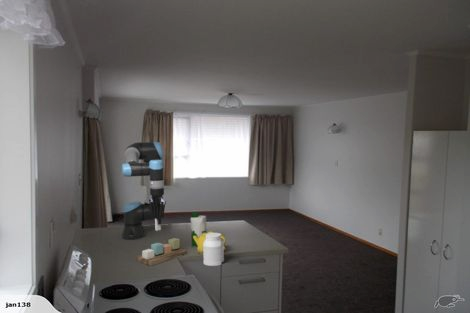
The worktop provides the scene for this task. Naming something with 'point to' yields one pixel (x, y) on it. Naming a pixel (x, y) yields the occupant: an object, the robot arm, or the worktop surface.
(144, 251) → the key cream
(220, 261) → the jar
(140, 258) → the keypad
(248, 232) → the worktop surface
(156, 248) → the key teal
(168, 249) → the key terracotta
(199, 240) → the teapot
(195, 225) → the milk carton
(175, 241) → the key olive
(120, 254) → the worktop surface
